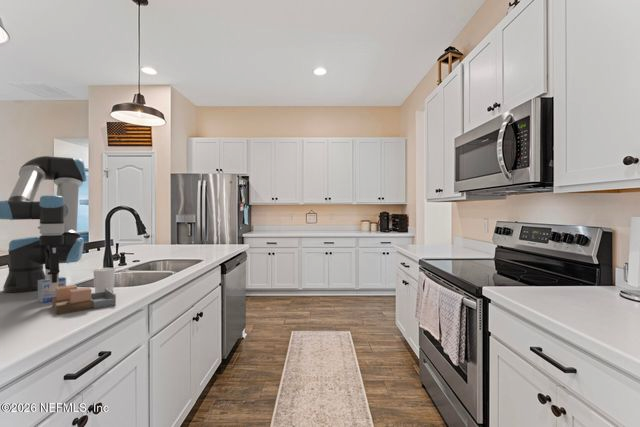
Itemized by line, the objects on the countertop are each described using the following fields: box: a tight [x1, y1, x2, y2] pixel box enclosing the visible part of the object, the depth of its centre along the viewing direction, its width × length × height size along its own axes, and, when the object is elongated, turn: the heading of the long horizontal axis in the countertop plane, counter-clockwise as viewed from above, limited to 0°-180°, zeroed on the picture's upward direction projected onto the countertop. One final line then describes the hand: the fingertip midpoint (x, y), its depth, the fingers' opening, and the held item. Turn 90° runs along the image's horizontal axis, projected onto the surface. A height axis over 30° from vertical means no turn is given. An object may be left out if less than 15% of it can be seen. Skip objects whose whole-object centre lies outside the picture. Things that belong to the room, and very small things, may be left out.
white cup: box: [93, 267, 116, 293], centre depth 145 cm, size 8×8×10 cm
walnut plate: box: [51, 298, 93, 315], centre depth 123 cm, size 14×10×3 cm
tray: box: [91, 288, 117, 309], centre depth 129 cm, size 14×7×4 cm, turn 44°
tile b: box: [69, 286, 92, 303], centre depth 121 cm, size 4×6×4 cm
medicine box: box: [37, 276, 67, 304], centre depth 132 cm, size 8×4×9 cm, turn 148°
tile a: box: [56, 284, 78, 300], centre depth 125 cm, size 4×6×4 cm
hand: (51, 288), depth 132 cm, fingers open, 13 cm apart
